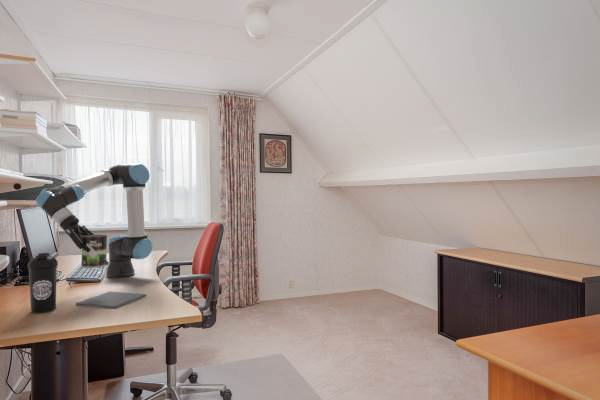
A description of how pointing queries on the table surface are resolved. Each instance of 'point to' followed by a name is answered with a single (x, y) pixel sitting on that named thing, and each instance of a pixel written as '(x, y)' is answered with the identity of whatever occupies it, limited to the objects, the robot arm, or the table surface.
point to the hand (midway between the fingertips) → (101, 254)
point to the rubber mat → (111, 299)
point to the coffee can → (99, 246)
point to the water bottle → (42, 283)
